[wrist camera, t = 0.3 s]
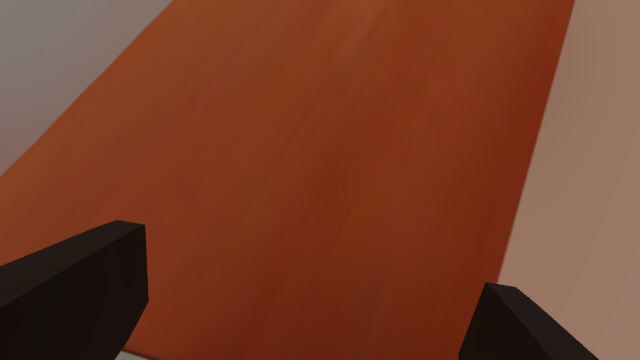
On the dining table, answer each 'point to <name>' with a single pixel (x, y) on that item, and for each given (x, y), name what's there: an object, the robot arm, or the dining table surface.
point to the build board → (130, 356)
